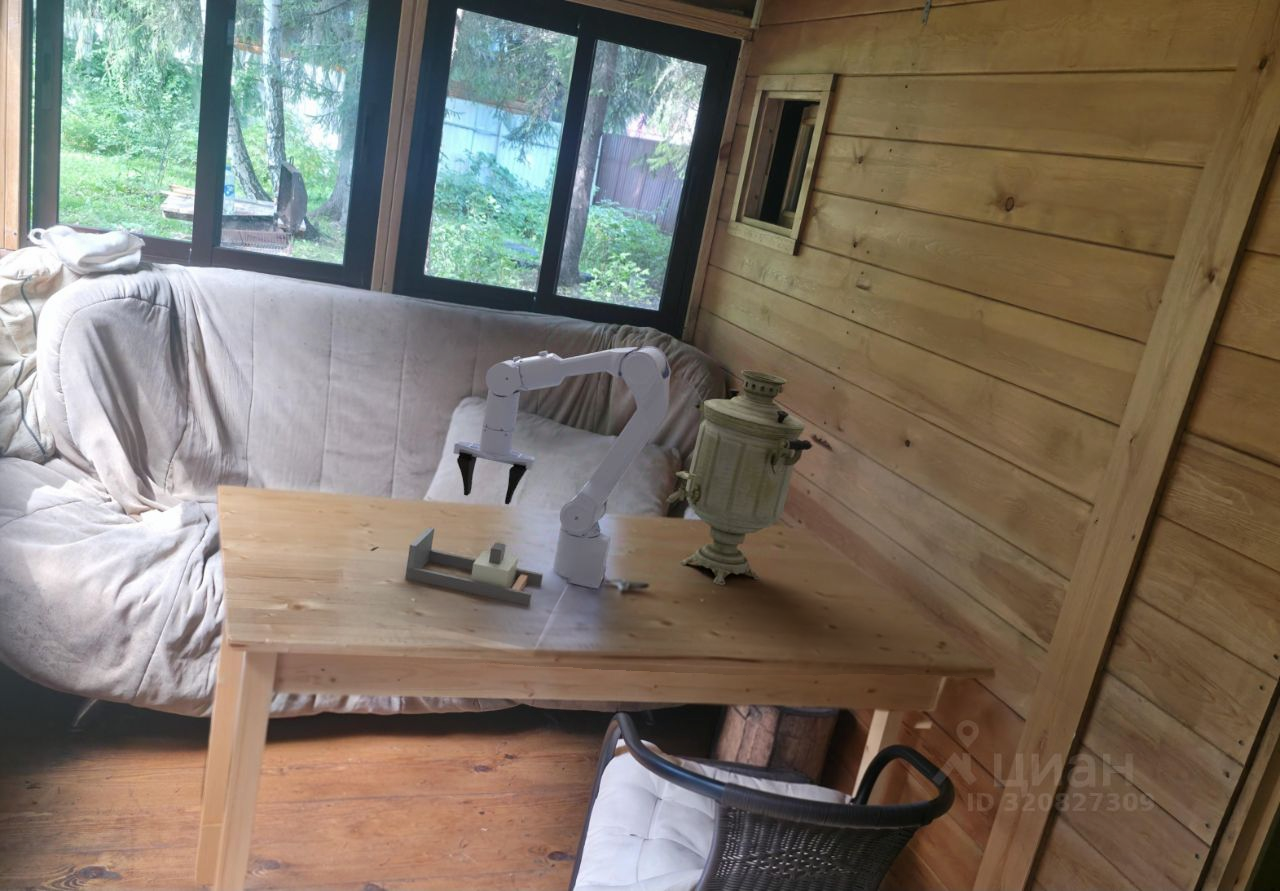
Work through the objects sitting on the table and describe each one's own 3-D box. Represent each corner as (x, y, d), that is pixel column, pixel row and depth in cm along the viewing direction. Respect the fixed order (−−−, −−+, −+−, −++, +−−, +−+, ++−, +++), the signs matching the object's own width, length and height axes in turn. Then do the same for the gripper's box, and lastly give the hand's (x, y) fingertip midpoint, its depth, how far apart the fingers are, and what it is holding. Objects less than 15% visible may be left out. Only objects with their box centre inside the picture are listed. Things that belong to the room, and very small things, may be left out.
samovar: (621, 537, 209) (658, 349, 199) (735, 545, 218) (775, 365, 209) (670, 597, 182) (715, 383, 172) (797, 603, 191) (847, 400, 181)
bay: (541, 586, 175) (547, 550, 174) (526, 612, 164) (533, 574, 162) (425, 561, 177) (430, 524, 175) (402, 585, 165) (407, 546, 163)
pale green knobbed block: (514, 581, 173) (520, 543, 171) (504, 596, 166) (511, 557, 165) (480, 574, 173) (486, 536, 172) (469, 588, 167) (475, 549, 165)
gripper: (453, 423, 177) (442, 495, 180) (533, 439, 176) (521, 512, 179) (464, 415, 184) (453, 485, 187) (541, 431, 183) (529, 502, 186)
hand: (487, 498), depth 184 cm, fingers open, 7 cm apart
